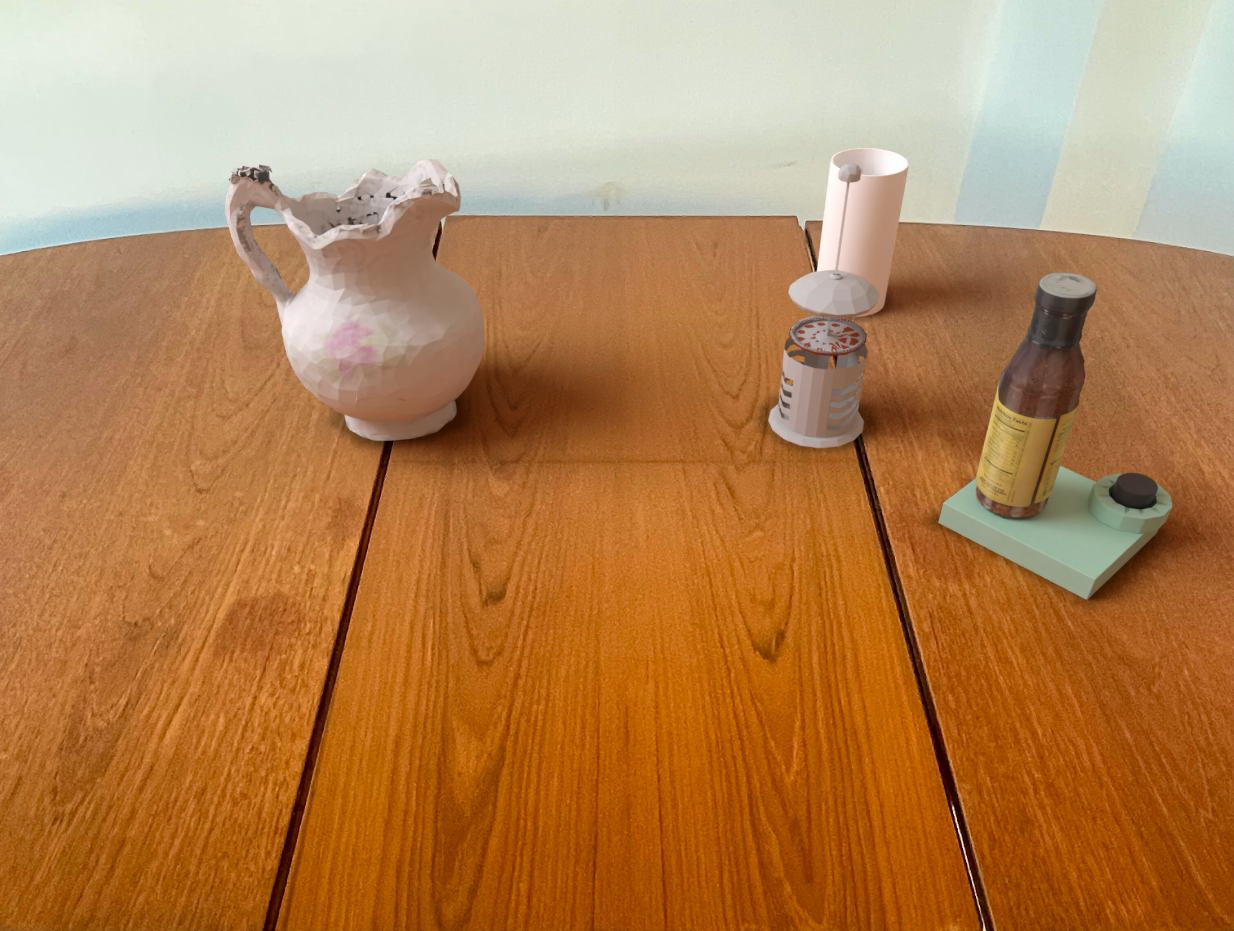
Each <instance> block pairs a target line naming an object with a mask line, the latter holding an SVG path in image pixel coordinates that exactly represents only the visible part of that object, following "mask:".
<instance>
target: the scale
mask: <svg viewBox="0 0 1234 931" xmlns="http://www.w3.org/2000/svg"><path fill="white" fill-rule="evenodd" d="M1122 474H1123V473H1115V474H1108V475H1103V476H1102V477H1101V478H1100V479H1098V480H1097V481H1095V480H1093V479H1091V478H1088V477H1086V476H1085V475H1082V474H1080V473H1077V472H1075V471H1073V470H1071V469H1069V468H1066V467H1064V466H1062V465H1060V467H1059V471H1058V474H1057V477H1056V480H1055V484H1054V487H1053V490H1052V493H1051V495H1050V496H1049V498H1048V502H1047V504H1046V506H1045V507H1044V508H1043V509H1042V510H1041V511H1040V512H1039V513H1037V514H1036V515H1034V516H1031V517H1026V518H1011V517H1001V516H999V515H997V514H994V513H992V512H991V511H989V510H987V509H986V508H985V507H983V506H982V505H981V504H980V502H979V501H978V499H977V496H976V485H977V484H976V477H975V478H974V479H973V480H971V481H970V482H969V483H968V484H966V485H965V486H963V487H962V488H961V489H959V490H958V491H957V492H956V493H954V494H953V495H952V496H950V497H949V498H948V499H947V500H945V501H944V502H943V503H942V506H941V507H942V508H941V511H940V514H939V519H938V524H940V525H941V526H944V527H945V528H947V529H949V530H951V531H953V532H955V533H957V534H959V535H961V536H963V537H965V538H966V539H969V540H971V541H973V542H975V543H976V544H978V545H980V546H982V547H984V548H986V549H988V550H990V551H992V552H994V553H995V554H998V555H999V556H1001V557H1003V558H1005V559H1008V560H1009V561H1011V562H1013V563H1015V564H1017V565H1019V566H1020V567H1023V568H1024V569H1026V570H1029V571H1030V572H1033V573H1034V574H1036V575H1037V576H1040V577H1042V578H1044V579H1046V580H1048V581H1049V582H1052V583H1053V584H1056V585H1057V586H1059V587H1061V588H1063V589H1065V590H1067V591H1068V592H1071V593H1072V594H1074V595H1077V596H1078V597H1080V598H1082V599H1084V600H1086V601H1088V600H1089V599H1090V598H1091V597H1092V596H1093V595H1094V594H1095V593H1096V592H1097V591H1098V590H1100V588H1102V587H1103V585H1105V584H1106V583H1107V582H1108V581H1109V580H1110V579H1111V578H1112V577H1113V576H1114V575H1115V574H1116V573H1117V572H1118V571H1119V570H1121V568H1122V567H1123V566H1124V565H1125V564H1126V563H1128V562H1129V561H1130V559H1132V558H1133V557H1134V556H1135V555H1136V554H1137V553H1138V552H1139V551H1140V550H1142V548H1143V547H1144V546H1145V545H1146V544H1147V543H1148V542H1150V540H1151V539H1152V538H1154V537H1155V536H1156V535H1157V534H1158V531H1159V530H1160V528H1161V527H1162V526H1163V525H1164V524H1165V523H1166V522H1167V520H1168V518H1169V516H1170V513H1171V512H1172V510H1173V501H1172V495H1171V494H1170V493H1169V492H1167V490H1165V489H1164V487H1163V486H1161V485H1160V484H1159V483H1158V482H1156V484H1157V486H1158V491H1157V493H1156V495H1155V497H1154V500H1153V502H1152V504H1151V506H1150V507H1148V508H1146V509H1142V510H1139V509H1132V508H1127V507H1125V506H1122V505H1120V504H1118V503H1116V502H1115V501H1114V500H1113V498H1112V496H1111V493H1112V490H1113V488H1114V485H1115V483H1116V480H1117V478H1118V477H1119V476H1120V475H1122Z"/></svg>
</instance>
